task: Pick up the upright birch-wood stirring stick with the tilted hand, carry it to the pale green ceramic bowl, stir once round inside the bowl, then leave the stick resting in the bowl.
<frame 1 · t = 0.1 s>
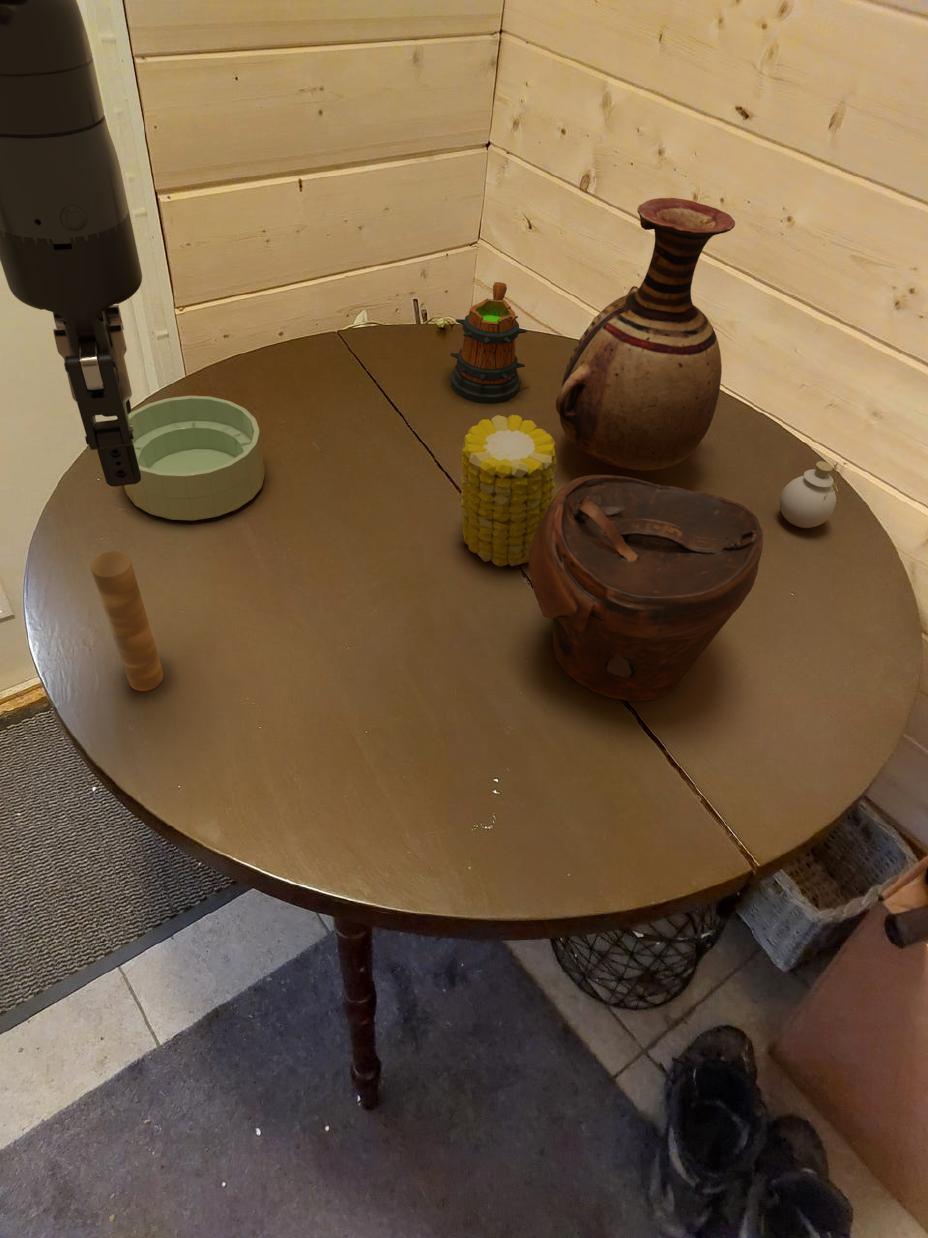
hand: (120, 446, 58), 24 cm above the table, tool pointing down, fingers open, 8 cm apart
mug: (486, 380, 115), on the table
vase: (621, 461, 104), on the table
stick: (146, 678, 75), on the table
case: (612, 653, 81), on the table
bowl: (196, 481, 95), on the table
ornament: (799, 526, 98), on the table
food: (499, 545, 91), on the table
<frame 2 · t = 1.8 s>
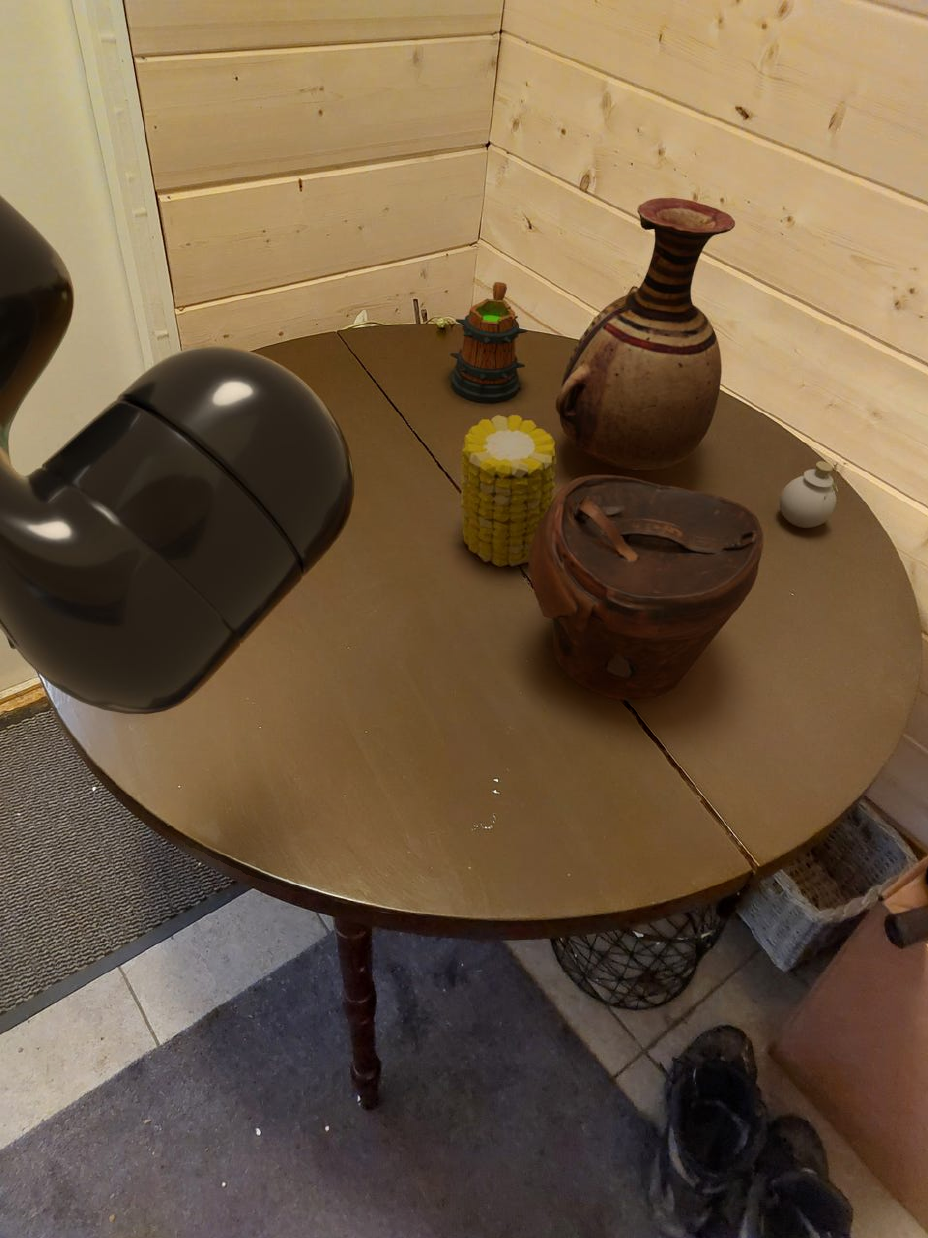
hand: (133, 594, 53), 21 cm above the table, tool tilted 45°, fingers open, 8 cm apart
nothing on the table moved.
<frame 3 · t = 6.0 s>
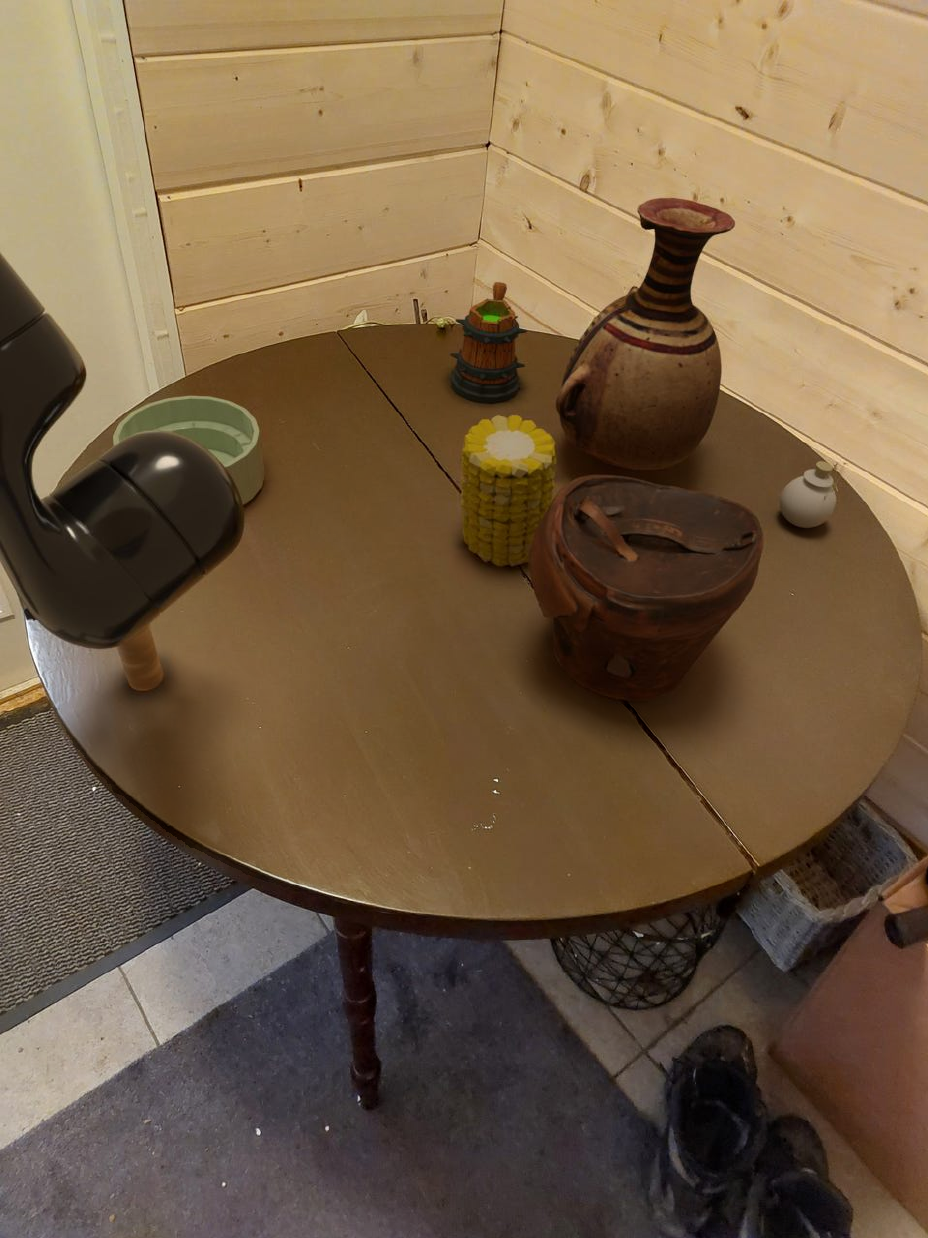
hand: (115, 584, 69), 10 cm above the table, tool tilted 45°, fingers closed on stick, 3 cm apart
stick: (146, 678, 75), on the table, touching gripper
everything else where it was.
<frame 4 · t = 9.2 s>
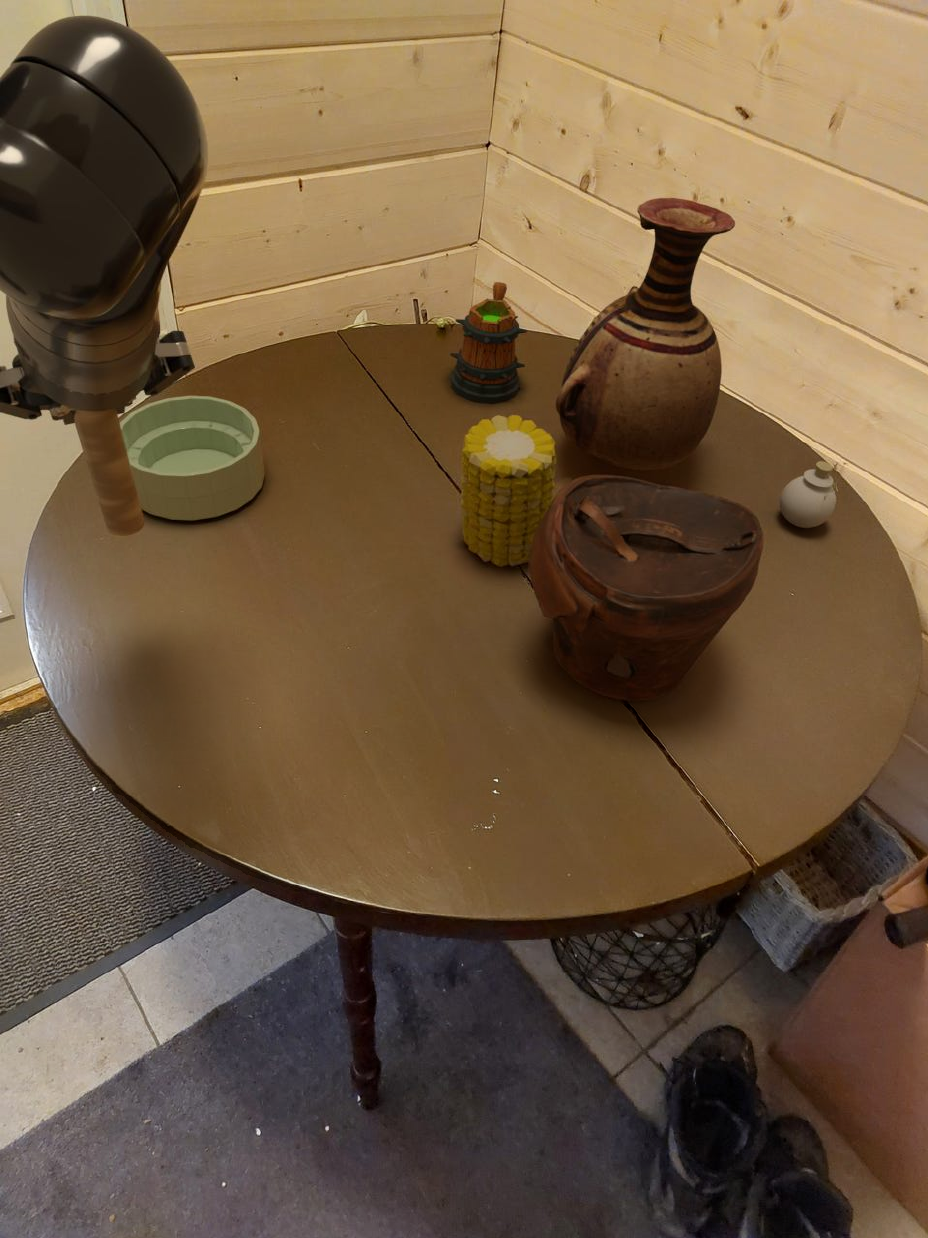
hand: (89, 405, 62), 24 cm above the table, tool tilted 45°, fingers closed on stick, 3 cm apart
stick: (125, 524, 68), point 14 cm above the table, touching gripper
everything else where it was.
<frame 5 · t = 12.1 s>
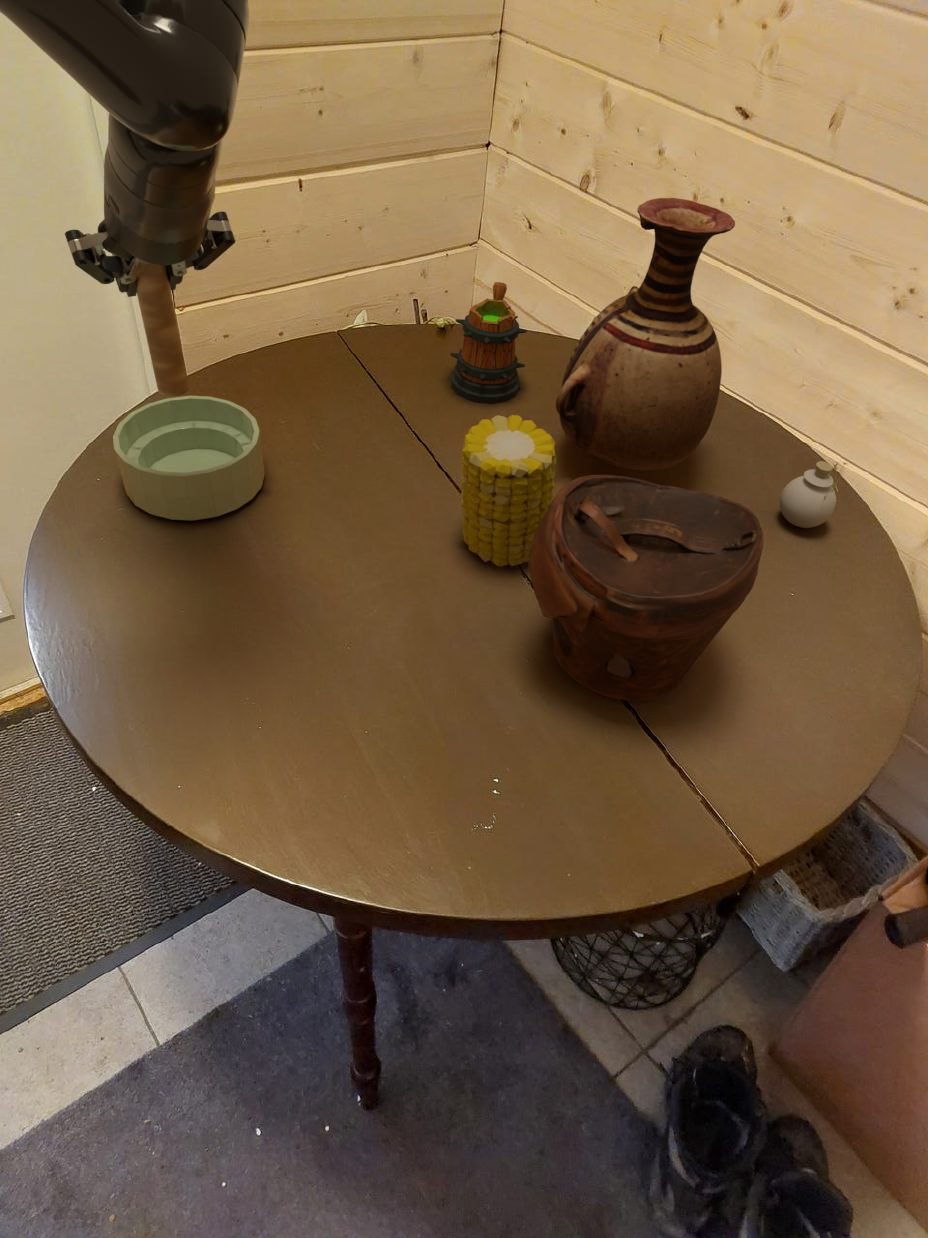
hand: (147, 282, 77), 24 cm above the table, tool tilted 45°, fingers closed on stick, 3 cm apart
stick: (173, 389, 83), point 14 cm above the table, touching gripper
everything else where it was.
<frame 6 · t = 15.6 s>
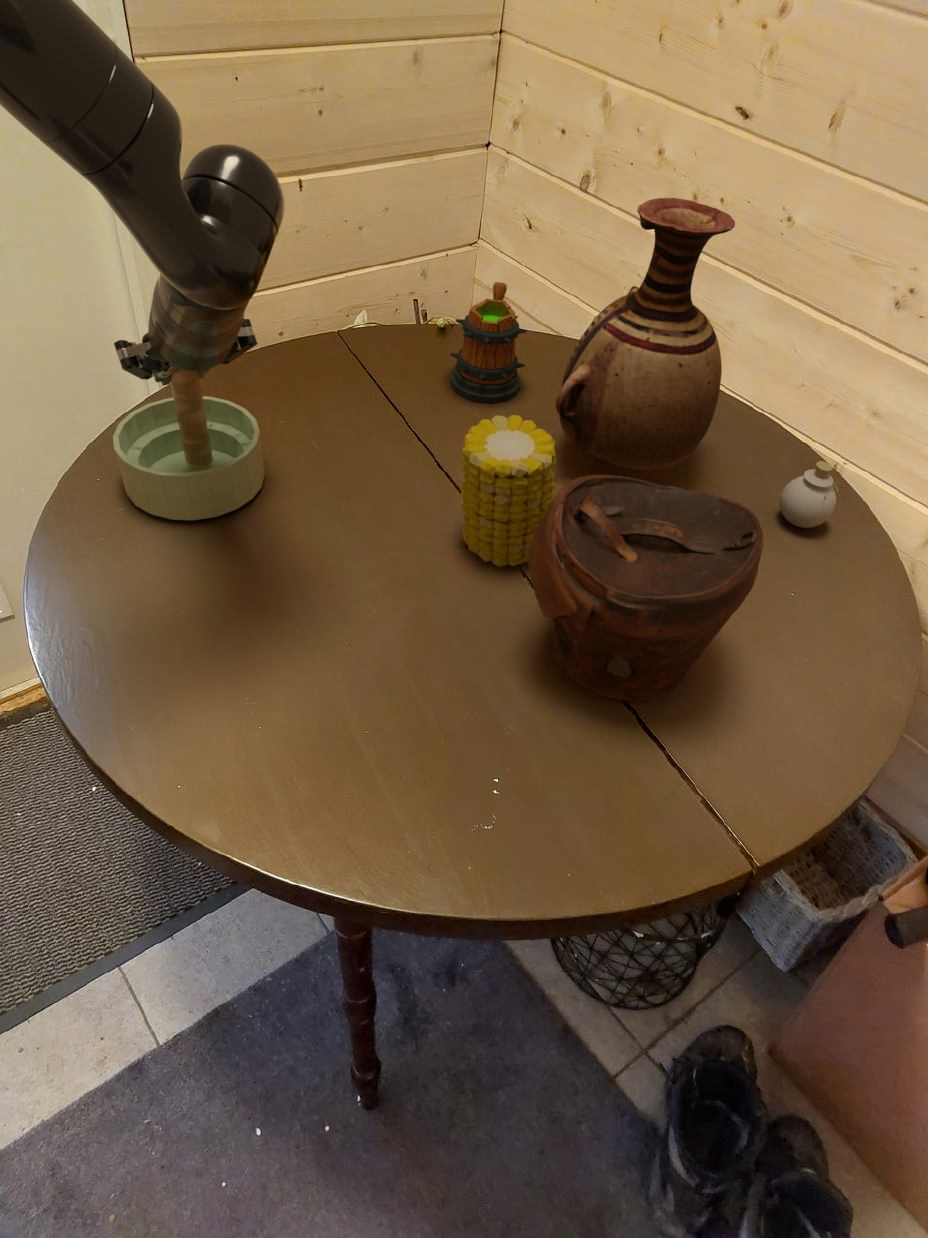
hand: (179, 372, 88), 12 cm above the table, tool tilted 45°, fingers closed on stick, 3 cm apart
stick: (199, 460, 94), point 2 cm above the table, touching gripper
everything else where it was.
when the fingers open (11 cm above the table, at t = 18.3 s): stick stays where it is, resting on bowl.
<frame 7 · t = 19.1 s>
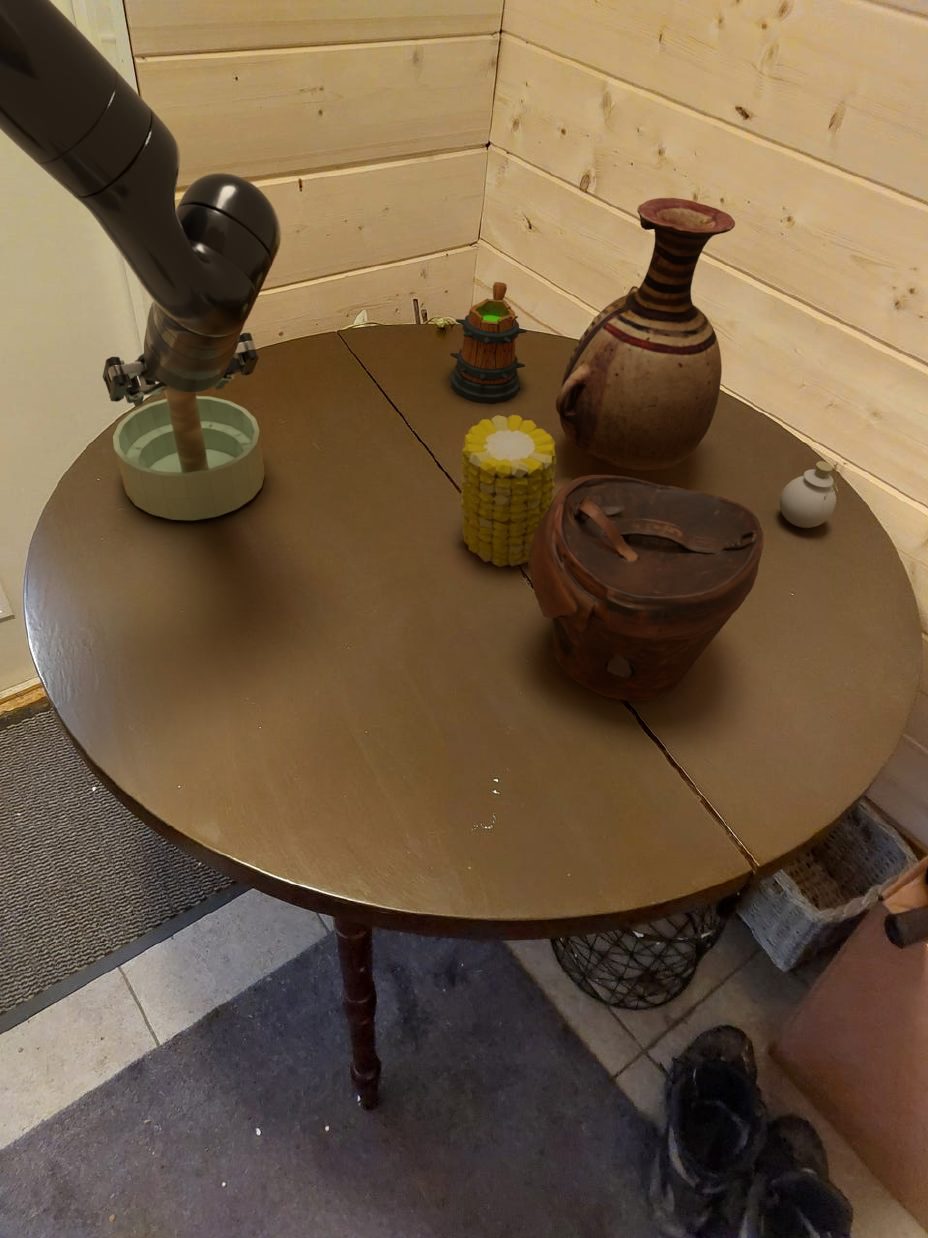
hand: (176, 388, 87), 11 cm above the table, tool tilted 45°, fingers open, 8 cm apart
stick: (196, 477, 94), point 1 cm above the table, touching bowl
everything else where it was.
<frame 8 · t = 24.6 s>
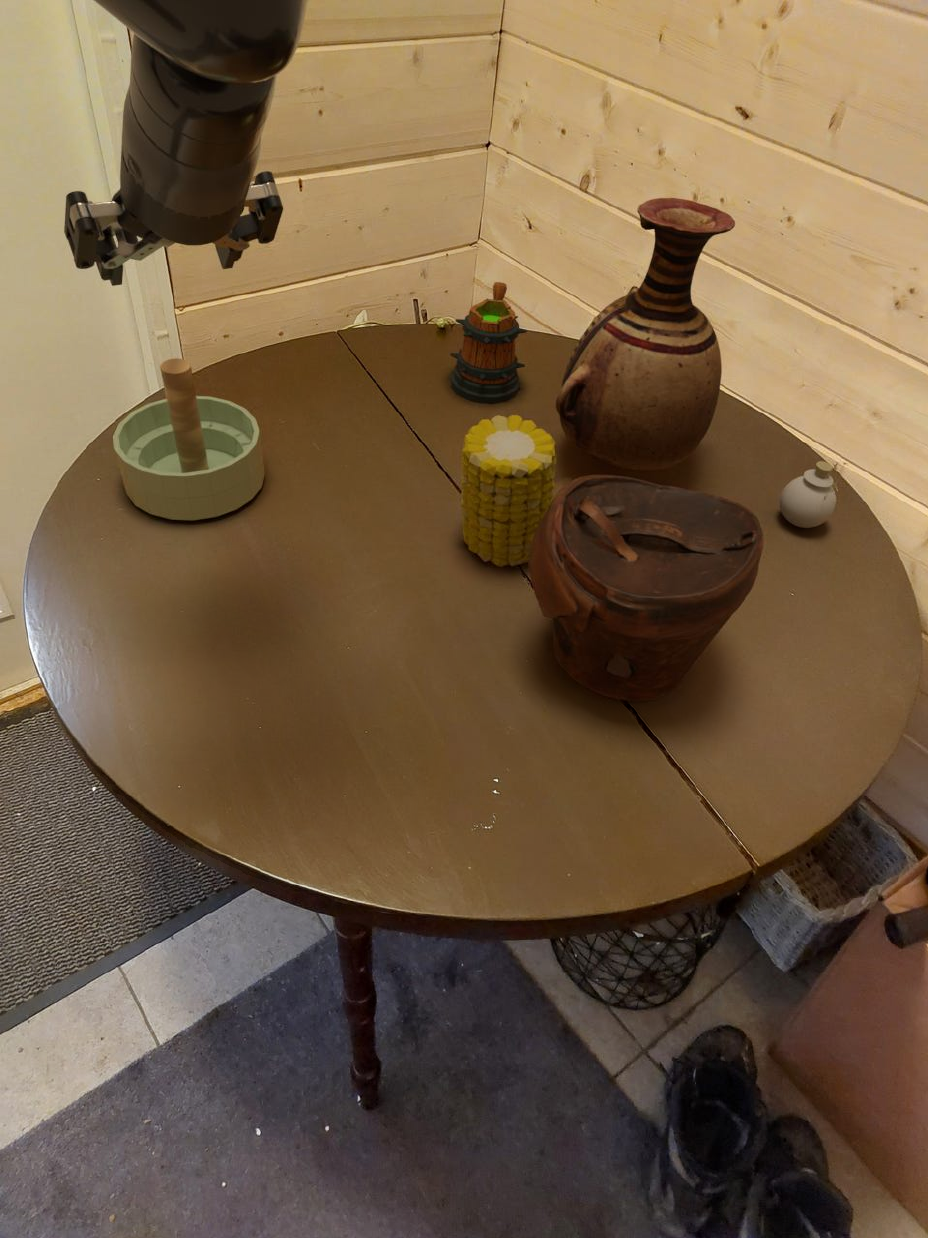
hand: (168, 264, 64), 31 cm above the table, tool tilted 45°, fingers open, 8 cm apart
nothing on the table moved.
at the end: stick inside the target area in the bowl (0.1 cm from its centre), point 0.6 cm above the bowl's base; stick moved 29.1 cm from its start; the gripper is holding nothing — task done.
